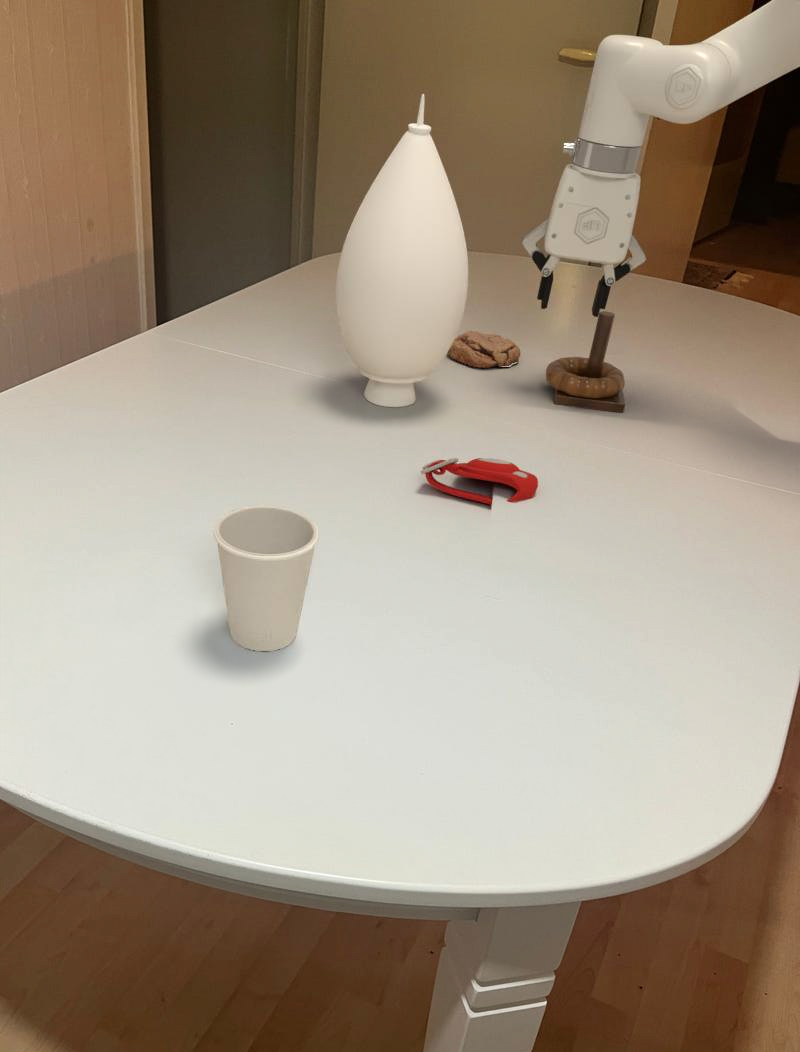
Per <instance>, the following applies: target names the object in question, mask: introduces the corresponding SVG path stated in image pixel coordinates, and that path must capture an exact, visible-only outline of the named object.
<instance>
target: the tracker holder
mask: <svg viewBox="0 0 800 1052" xmlns="http://www.w3.org/2000/svg"><path fill="white" fill-rule="evenodd" d="M458 462H459V458H458V457H454V458H449V459H447V460H446V459H437V460H434V461H431V462H429V463H426V464H424V465H423V466H422V467H421V470H420V474H421V475H425V479H426V481H427V483H428V484H429V485H431V486H432V487H433V488H435V489H437V490H439V491H441V492H444V493H446V494H448V495H452V496H454V497H459V498H463V499H467V500H471V501H475V502H479V503H484V504H488V505H491V506H492V505H493V500H494V498H493V496H489V495H485V494H482V493H477V492H473V491H470V490H469V491H468V490H464V489H460V488H457V487H456V488H455V487H452V486H449V485H446V484H445V483H442V482H440V481H438V480H437V479H436V478H435V477H434V475H436V476H443V475H444V474H446V472H448V473H450V474H453V475H455V476H460V477H464V478H469V479H474V480H475V479H476V480H481V481H487V482H494V483H500V484H503V485H508V486H509V487H512V488H513V489H515V490H516V493H515V494H514V495H513V496H511V498H508V499H507V500H506V502H508V503H517V502H521V501H526V500H531V499H533V497H534V496H535V494H536V492H537V490H538V487H539V479H538V477H537V476H536V475H535V474H533V473H531V472H528V471H525V470H522V469H520V468H519V467H518V466H517V465H516V464H515V463H512V462H509V461H507V460H503V459H499V458H492V457H491V458H489V457H487V458H482V457H479V458H474V459H471V460H469V461H468V462H460V463H458ZM433 474H434V475H433Z"/></svg>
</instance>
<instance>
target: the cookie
mask: <svg viewBox="0 0 800 1052" xmlns="http://www.w3.org/2000/svg"><path fill="white" fill-rule="evenodd" d="M447 354H448V355H449V357H450V356H451V357H450V358H451V359H452V358H453V359H455V360H454V361H456V360H457V361H460V362H462V363H461V364H463V363H464V364H463V365H466V364H468V365H467V366H469V365H470V366H469V367H471V366H473V367H472V368H479V369H481V368H483V369H487V368H486V367H489V368H492V367H494V366H495V367H498V366H499V367H502V366H509V365H511V364H512V363H515V362H518V363H519V359H520V357H521V354H522V353H521V349H520V347H519V346H518V344H517V343H515V342H513V341H512V340H511V339H509V338H504V337H503V336H501V335H500V334H493V333H484V332H480V331H476V330H474V331H473V330H469V331H466V332H463V333H461V334H459V335H457V336H456V337H455V339H454V341H453V343H452V345H451V347H450V349H449V350H448V352H447ZM453 359H452V360H453ZM457 361H456V362H457ZM460 362H459V363H460ZM495 367H494V368H495ZM499 367H498V368H499Z"/></svg>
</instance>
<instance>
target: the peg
mask: <svg viewBox="0 0 800 1052" xmlns="http://www.w3.org/2000/svg"><path fill="white" fill-rule="evenodd" d="M615 317H616V314H615V313H613V312H612V311H606V310H605V311H604V310H603V311H601V310H600V311H599V315H598V317H597V321H596V325H595V330H594V334H593V339H592V343H591V346H590V347H591V348H590V352H589V355H588V358H589V360H588V364H587V368H586V373H585V377H588V378H600V375H601V371H602V367H603V363H604V362H605V358H606V354H607V350H608V347H609V342H610V338H611V333H612V329H613V325H614V321H615ZM624 395H625V394H624V388H623V389H622V391H620V392H619V393H617V394H615V395H613V396H612V397H608V398H597V399H590V398H582V397H575V396H572V395H569V394H566V393H563V392H560V391H558V390H557V389H555V388H554V404H555V405H560V406H561V405H562V406H568V407H575V408H584V409H592V410H598V411H606V412H614V413H621V414H622V413H623V414H624V411H625V407H626V401H625V396H624Z"/></svg>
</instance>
